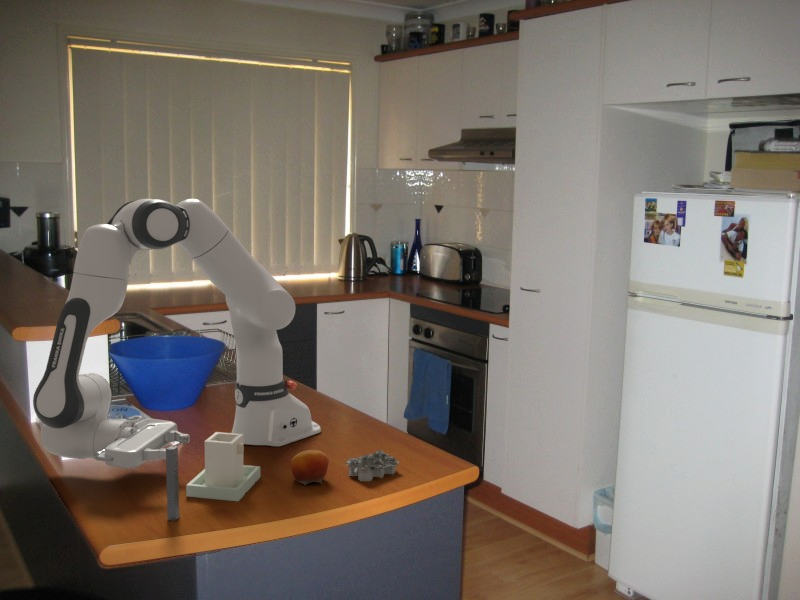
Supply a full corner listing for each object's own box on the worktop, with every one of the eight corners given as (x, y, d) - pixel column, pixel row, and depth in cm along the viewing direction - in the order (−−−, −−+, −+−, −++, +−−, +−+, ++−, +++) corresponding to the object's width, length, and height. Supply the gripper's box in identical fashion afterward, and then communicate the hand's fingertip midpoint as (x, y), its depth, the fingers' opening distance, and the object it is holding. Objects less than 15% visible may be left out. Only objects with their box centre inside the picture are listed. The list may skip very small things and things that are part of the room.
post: (171, 516, 152) (169, 446, 150) (179, 517, 152) (177, 446, 149) (167, 520, 150) (165, 448, 148) (175, 520, 150) (173, 449, 148)
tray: (212, 472, 174) (211, 462, 173) (260, 477, 172) (260, 466, 172) (186, 496, 161) (186, 485, 161) (238, 501, 159) (238, 490, 159)
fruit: (299, 487, 164) (294, 448, 166) (290, 493, 170) (285, 456, 173) (337, 481, 167) (331, 444, 169) (326, 488, 174) (321, 451, 176)
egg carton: (362, 485, 170) (363, 467, 169) (342, 474, 176) (342, 456, 175) (401, 474, 176) (402, 456, 176) (381, 463, 182) (381, 446, 181)
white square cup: (216, 477, 170) (216, 431, 168) (248, 479, 169) (247, 434, 167) (205, 487, 164) (204, 441, 162) (237, 490, 163) (237, 444, 161)
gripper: (90, 443, 158) (155, 448, 156) (139, 413, 178) (198, 417, 176) (91, 473, 159) (156, 479, 157) (140, 440, 179) (198, 445, 177)
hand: (178, 446), depth 167 cm, fingers open, 8 cm apart
